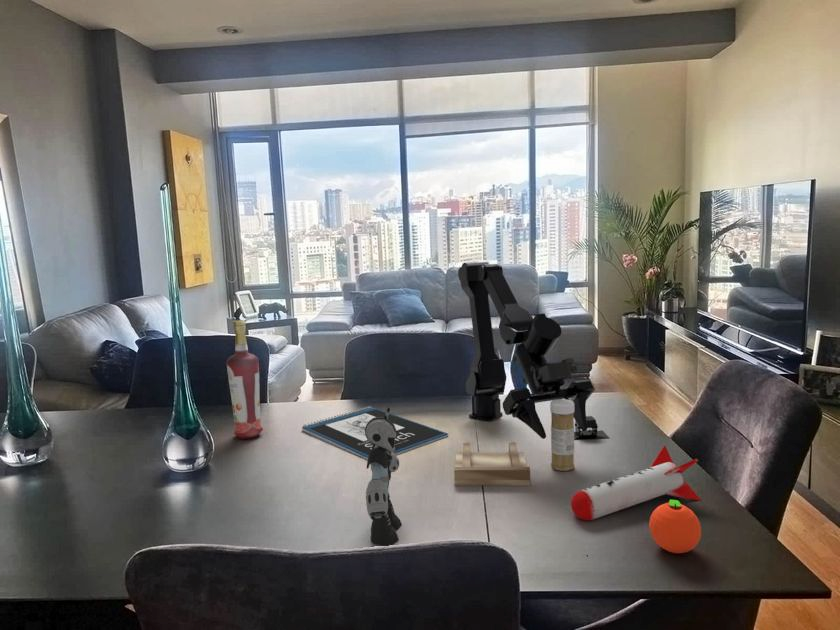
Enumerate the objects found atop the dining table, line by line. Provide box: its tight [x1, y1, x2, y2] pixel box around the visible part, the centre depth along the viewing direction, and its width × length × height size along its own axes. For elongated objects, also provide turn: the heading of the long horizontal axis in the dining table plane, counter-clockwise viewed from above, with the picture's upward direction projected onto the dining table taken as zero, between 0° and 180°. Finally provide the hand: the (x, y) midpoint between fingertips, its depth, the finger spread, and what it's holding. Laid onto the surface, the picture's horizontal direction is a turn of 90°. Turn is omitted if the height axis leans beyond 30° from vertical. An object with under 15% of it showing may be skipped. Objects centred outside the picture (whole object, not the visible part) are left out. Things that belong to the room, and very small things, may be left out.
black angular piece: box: [574, 415, 611, 441], centre depth 133 cm, size 12×7×5 cm, turn 92°
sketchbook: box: [301, 405, 449, 460], centre depth 140 cm, size 22×30×2 cm
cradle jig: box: [453, 442, 531, 486], centre depth 116 cm, size 14×14×3 cm
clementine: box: [648, 499, 702, 554], centre depth 85 cm, size 8×7×7 cm
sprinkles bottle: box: [549, 399, 575, 472], centre depth 115 cm, size 5×5×13 cm
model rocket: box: [570, 444, 702, 521], centre depth 99 cm, size 11×23×10 cm
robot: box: [365, 407, 403, 547], centre depth 92 cm, size 20×5×20 cm, turn 176°
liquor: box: [225, 319, 264, 440], centre depth 139 cm, size 7×7×28 cm
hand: (565, 434), depth 114 cm, fingers open, 9 cm apart
